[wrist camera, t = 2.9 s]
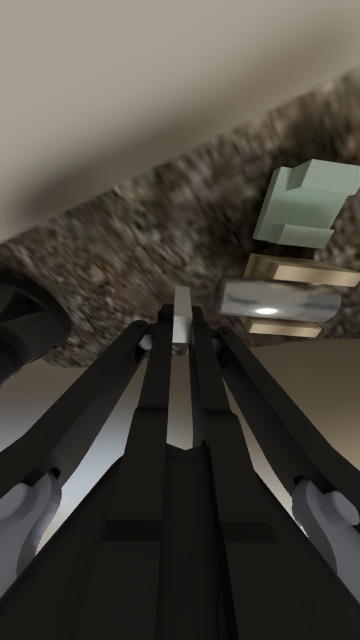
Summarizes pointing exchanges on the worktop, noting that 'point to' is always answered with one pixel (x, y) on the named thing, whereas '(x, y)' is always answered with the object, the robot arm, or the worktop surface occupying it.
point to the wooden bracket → (292, 272)
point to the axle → (275, 299)
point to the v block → (305, 202)
